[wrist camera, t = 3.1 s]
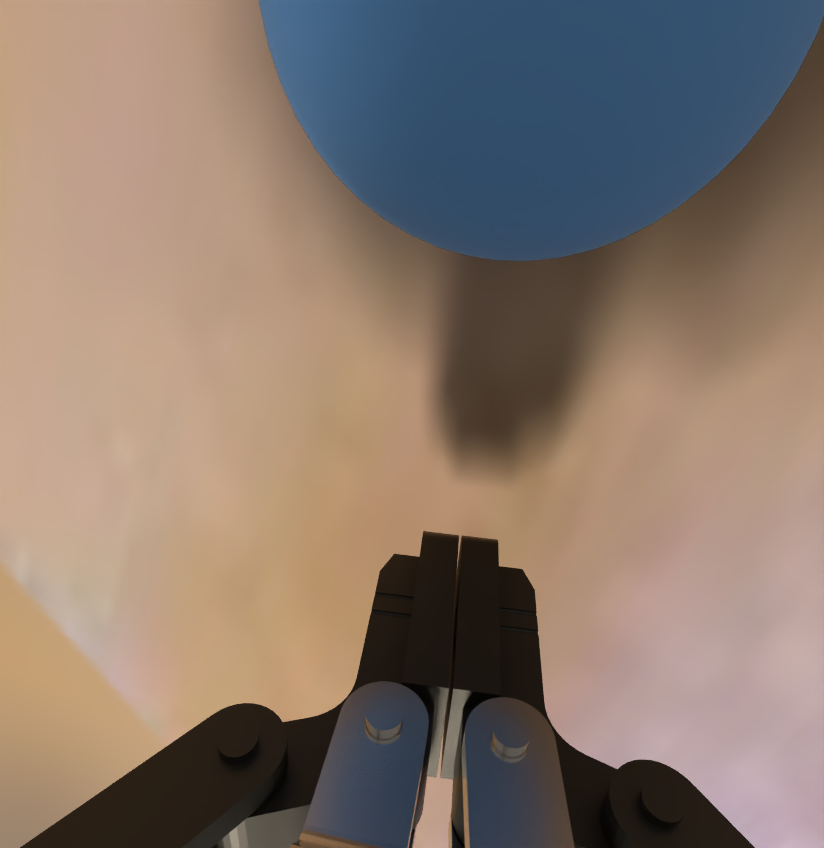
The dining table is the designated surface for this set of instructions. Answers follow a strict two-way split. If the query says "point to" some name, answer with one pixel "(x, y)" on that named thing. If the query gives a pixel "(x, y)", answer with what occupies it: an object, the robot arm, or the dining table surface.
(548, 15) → the ball
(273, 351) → the dining table surface
